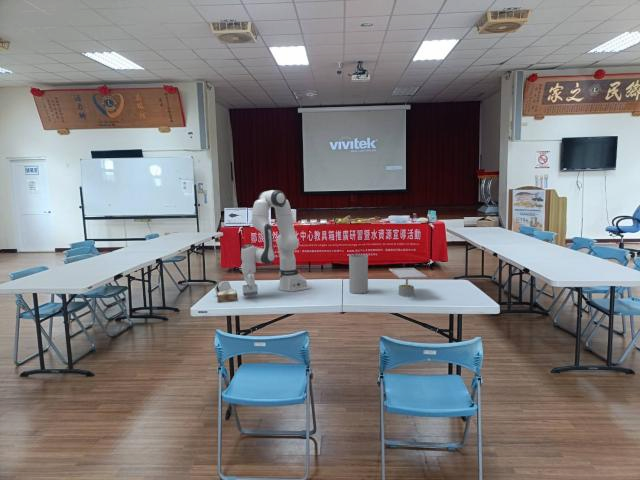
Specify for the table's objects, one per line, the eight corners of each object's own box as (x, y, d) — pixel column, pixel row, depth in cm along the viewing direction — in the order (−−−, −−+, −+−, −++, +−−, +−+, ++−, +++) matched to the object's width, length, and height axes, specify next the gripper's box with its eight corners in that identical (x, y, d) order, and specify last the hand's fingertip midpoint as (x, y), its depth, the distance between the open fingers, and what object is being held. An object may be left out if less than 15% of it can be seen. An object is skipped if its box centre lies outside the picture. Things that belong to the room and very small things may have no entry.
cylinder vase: (371, 291, 296) (371, 255, 293) (361, 295, 286) (361, 257, 283) (355, 288, 304) (355, 253, 300) (345, 292, 294) (345, 256, 290)
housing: (256, 292, 287) (256, 283, 286) (257, 294, 283) (257, 284, 282) (242, 294, 285) (242, 284, 284) (244, 296, 280) (243, 286, 279)
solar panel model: (426, 299, 273) (427, 276, 271) (400, 300, 271) (400, 277, 269) (413, 289, 300) (413, 267, 298) (388, 289, 299) (389, 268, 297)
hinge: (224, 297, 286) (219, 283, 285) (218, 299, 287) (213, 285, 286) (234, 291, 302) (229, 278, 301) (228, 293, 303) (223, 280, 303)
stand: (236, 297, 285) (235, 290, 284) (237, 300, 277) (237, 293, 276) (217, 299, 281) (217, 291, 281) (218, 302, 274) (218, 294, 273)
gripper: (256, 272, 273) (257, 293, 275) (251, 266, 292) (252, 286, 294) (246, 273, 271) (247, 294, 273) (241, 267, 290) (243, 287, 292)
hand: (250, 290), depth 283 cm, fingers closed on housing, 5 cm apart
